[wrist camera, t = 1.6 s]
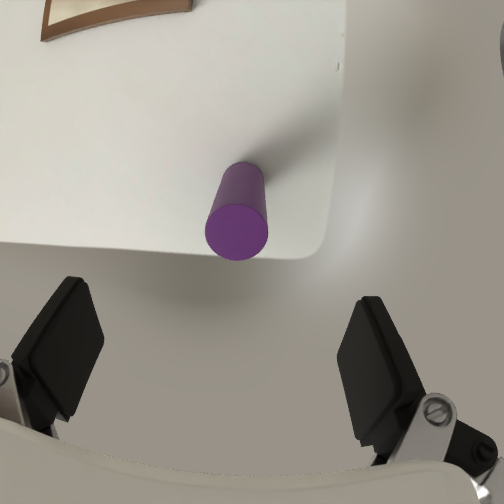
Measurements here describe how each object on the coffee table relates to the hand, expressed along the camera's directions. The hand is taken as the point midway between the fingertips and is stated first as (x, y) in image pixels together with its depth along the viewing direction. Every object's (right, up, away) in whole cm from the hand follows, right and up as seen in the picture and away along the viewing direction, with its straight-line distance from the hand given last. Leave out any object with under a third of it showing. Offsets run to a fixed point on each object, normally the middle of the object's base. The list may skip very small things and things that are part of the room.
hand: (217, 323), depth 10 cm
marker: (+1, +8, +14) cm, 16 cm away
